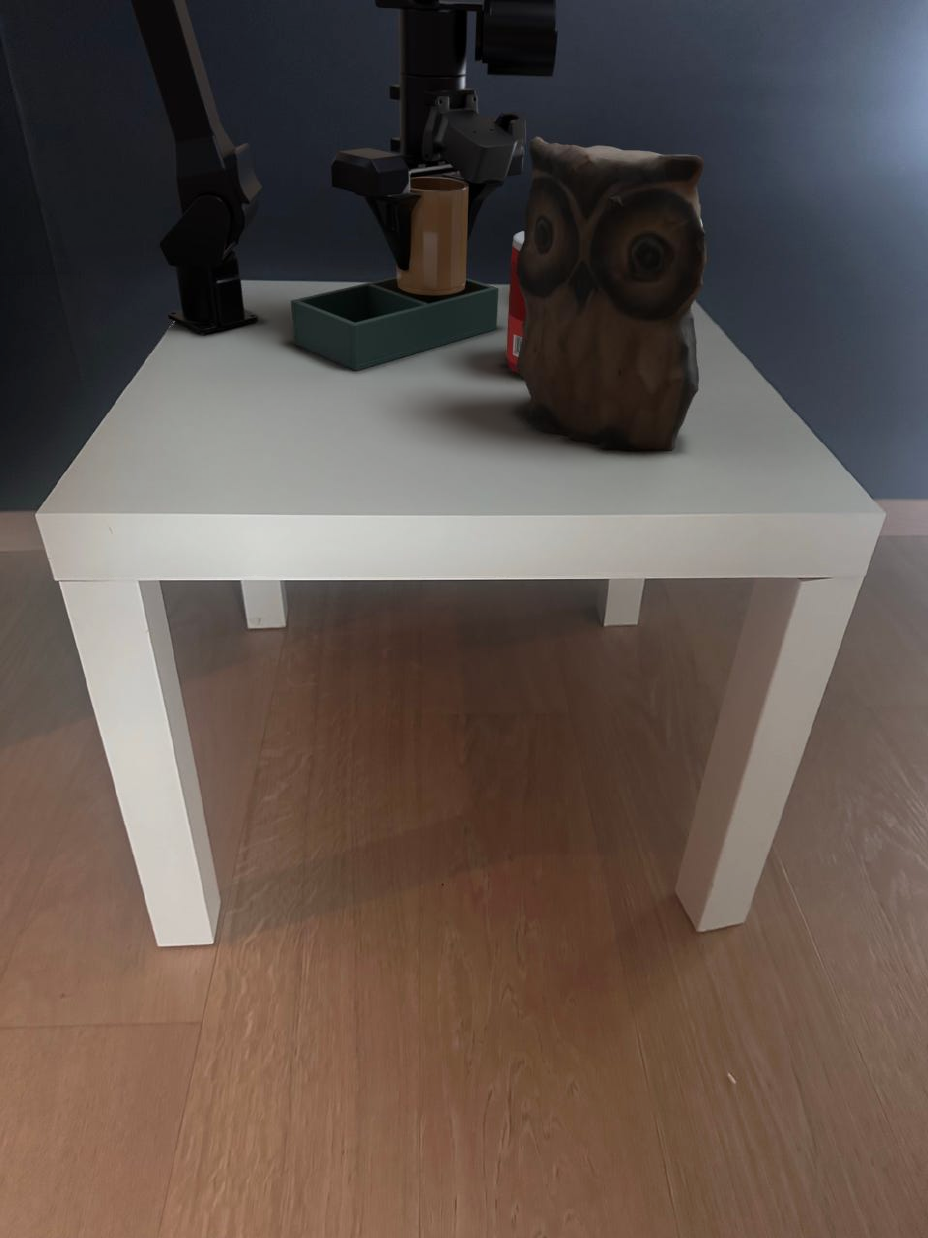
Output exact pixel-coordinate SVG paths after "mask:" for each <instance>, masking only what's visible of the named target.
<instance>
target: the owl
mask: <svg viewBox="0 0 928 1238" xmlns="http://www.w3.org/2000/svg"><path fill="white" fill-rule="evenodd" d="M529 144H530V145H529V147H528V153H529V155H530V161H531V162H530V163H531V182H530V185H531V186H530V188H529V191H528V198H527V201H526V204H525V209H524V222H523V223H524V224H523V231H524V242H523V244H522V247H521V249H520V251H519V254H518V258H517V269H516V274H517V276H518V279H519V282H518V284H519V287H520V290H521V292H522V295H523V297H524V301H525V308H526V317H525V319H524V322H523V324H522V331H523V335H522V341H521V347H520V351H519V355H518V360H517V364H516V368H517V371H518V373H519V374H518V373H517V374H518V375H519V376H520V377H521V378H522V379H523V381H524V383H525V385H526V389H527V391H528V394H529V397H530V399H529V401H528V405H527V406H526V407H525V408H524V409H522V410H521V412H520V413H521V415H522V416H523V417H525V418H526V421H528V422H529V423H530V424H532V425H533V426H534V429H537V430H539V431H540V432H544V433H550V434H559V435H565V436H567V437H568V439H569V440H570V441H576V442H587V443H590V444H594V445H597V446H598V447H599V448H600V449H602V450H619V451H624V452H625V451H627V452H631V451H639V450H656V451H657V450H660V451H668V452H669V451H673V450H674V449H676V440H677V438H678V435H679V432H680V430H681V427H682V426H683V424H684V423H685V421H686V417H687V414H688V412H689V409H690V408H691V404H692V402H693V400H694V398H695V396H696V394H697V393H698V392H699V383H700V373H699V365H698V358H697V357H698V356H697V355H698V353H697V350H698V349H697V343H698V342H697V336H696V329H695V316H694V314H693V312H692V305H693V304H694V303H695V300H696V298H697V296H698V295H699V293H700V291H701V289H702V288H703V285H704V282H703V274H704V271H705V268H706V264H707V245H706V236H707V233H706V231H705V230H704V227H703V223H702V224H701V221H702V219H701V220H700V218H701V212H702V211H701V209H702V208H701V203H700V199H699V190H698V187H697V183H698V182H699V180H700V178H701V176H702V174H703V170H704V160H703V158H702V157H701V156H699V155H694V154H661V153H658V152H653V151H647V150H629V149H628V150H625V149H624V150H623V149H620V148H617V147H614V146H609V145H607V146H606V145H593V146H589V147H583V146H579V145H577V144H571V145H569V144H560V143H557V142H553V143H549V142H547V141H545V140H544V139H543V138H542V137H540V136H535V137H534V138H532V139H530V143H529Z"/></svg>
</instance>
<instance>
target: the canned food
mask: <svg viewBox="0 0 928 1238" xmlns="http://www.w3.org/2000/svg"><path fill="white" fill-rule="evenodd" d="M523 242H524V230H522V231H520V232H517V233H515V234H514V235H513V241H512V243H511V244H512V245H511V259H510V273H509V274H510V276H509V277H510V278H509V297H508V313H507V314H508V315H507V316H508V317H507V334H506V337H507V338H506V352H505V353H506V354H505V356H506V360H507V364H508V367H509V368H510V370H512V371H513V372H514V373H516V374H518V375H520V374H519V373H518V371H517V368H516V364H517V360H518V355H519V351H520V347H521V341H522V335H523V331H522V324H523V322H524V319H525V317H526V308H525V301H524V297H523V295H522V292H521V290H520V287H519V284H518V282H519V279H518V276H517V274H516V269H517V258H518V254H519V251H520V249H521V247H522V244H523Z"/></svg>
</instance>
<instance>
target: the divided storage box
mask: <svg viewBox="0 0 928 1238" xmlns="http://www.w3.org/2000/svg"><path fill="white" fill-rule="evenodd" d="M498 306H499V288H498V287H495V286H494V285H491V284H487V283H484V282H481V281H477V280H474V279H471V278H468V277H466V286H465V289H464V290H462V291H460V292H457V293H454V294H448V295H419V294H413V293H409V292H406V291H403V290H401V289H400V288H399V287H398V286H397V275H396V276H392V277H388V278H384V279H379V280H375V281H371V282H366V283H361V284H357V285H353V286H349V287H344V288H339V289H335V290H331V291H326V292H322V293H316V294H313V295H309V296H305V297H300V298H296V299H292V300H290V307H291V308H290V309H291V310H290V311H291V322H292V335H293V344H294V345H296V346H299V347H301V348H303V349H305V350H307V351H310V352H312V353H314V354H317V355H319V356H321V357H324V358H326V359H328V360H330V361H333V362H335V363H338V364H340V365H342V366H344V367H347V368H348V369H351V370H354V371H360V370H363V369H367V368H371V367H373V366H377V365H380V364H383V363H387V362H391V361H394V360H398V359H400V358H401V359H402V358H404V357H406V356H411V355H413V354H417V353H420V352H421V353H422V352H424V351H428V350H430V349H433V348H434V349H435V348H437V347H441V346H444V345H449V344H450V343H454V342H455V343H456V342H458V341H461V340H464V339H468V338H472V337H474V336H477V335H478V336H479V335H482V334H484V333H488V332H491V331H494V330H497V329H498V328H497V326H498V324H497V323H498Z"/></svg>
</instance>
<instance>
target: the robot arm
mask: <svg viewBox="0 0 928 1238" xmlns="http://www.w3.org/2000/svg"><path fill="white" fill-rule="evenodd" d="M482 1H483V3H482V2H463V1H462V2H461V1H442V0H374V6H376V8H378V9H390V10H391V9H394V10H398V84H390V85H389V99H390V100H395V101H399V102H398V103H399V104H398V107H399V108H398V109H399V111H398V113H399V115H398V116H399V119H398V120H399V137H392V138H390V139H389V143H390V144H389V145H390V146H389V148H390V152H389V151H384V150H379V149H375V148H370V147H365V148H356V149H348V150H340V151H337V153H336V155H335V156H334V158H333V160H332V161H331V165H330V172H331V187H332V188H336V189H340V190H343V191H347V192H351V193H354V194H355V195H356V196H360V197H363V199H364V200H365V202H366V204H367V206H368V207H369V210H370V211H371V213H372V215H373V216H374V219H375V220H376V221H377V224H378V227H379V228H380V230H381V233H382V234H383V237H384V240H385V241H386V244H387V246H388V247H389V250H390V252H391V255H392V257H393V259H394V262H395V265H396V264H397V266H398V268H399V269H401V270H404V271H406V270H408V269H409V263H410V255H411V213H412V210H413V208H414V207H415V205H416V204H417V202H418V201H419V199H420V197H421V195H419V194H415V193H411V192H410V178H416V177H431V176H437V175H441V177H442V178H450V179H456V180H460V181H464V182H466V183H468V184H469V192H468V224H467V244H468V243H469V241H470V237H471V234H472V233H473V232H472V231H473V229H474V226H475V224H476V221H477V217H478V215H479V212H480V210H481V208H482V206H483V204H484V201H485V200H486V199H487V198H488V197H489V196H490V195H491V194H492V193H493V192H495V190H497V189H498V188H502V187H503V186H504V184H505V183H506V181H505V179H506V178H508V177H514V176H521V175H523V170H524V168H523V167H524V156H525V147H526V143H527V120H526V118H525V117H523V116H522V115H521V114H519V113H518V112H516V111H512V112H511V111H510V112H502V113H500V114H499V115H498V116H497V118H496V117H494V116H484V115H482V114H481V113H480V112H479V108H478V103H479V102H478V101H479V100H478V95H477V94H476V93H477V92H476V91H477V90H476V88H469V87H467V83H466V82H467V57H468V55H467V53H468V49H467V48H468V17H469V15H468V14H469V13H468V12H473V13H474V12H475V30H474V31H475V32H474V62H481V64H485V65H486V76H490V77H491V76H493V77H496V76H497V77H520V78H521V77H522V78H523V77H526V78H548V79H549V78H551V79H552V78H553V77H554V73H555V72H554V71H555V65H556V57H557V56H556V55H557V47H558V46H557V45H558V35H559V33H558V32H559V31H558V29H557V28H556V26H557V25H556V22H557V0H482ZM129 4H130V7H131V9H132V12H133V16H134V19H135V22H136V25H137V28H138V31H139V35H140V38H141V42H142V45H143V47H144V50H145V54H146V56H147V60H148V62H149V66H150V69H151V72H152V74H153V78H154V81H155V85H156V87H157V91H158V93H159V97H160V100H161V103H162V106H163V109H164V112H165V116H166V119H167V122H168V124H169V125H168V126H169V128H170V131H171V134H172V139H173V153H174V155H173V156H174V157H173V158H174V180H175V187H176V194H177V199H178V205H179V211H180V215H181V216H180V217H179V219H178V220H177V221H176V222H175V223H174V225H173V226H172V227H171V228H170V229H169V230H168V231H167V233H166V234H165V235H164V236H163V238H161V240H160V241H159V248H160V250H161V251H162V254H163V255H164V257H165V259H166V261H167V263H168V265H169V266H170V267H175V273H176V279H177V287H178V292H179V299H180V306H181V309H179V310H174V311H170V312H168V313H167V316H168V319H170V320H172V322H173V321H174V322H176V323H178V324H179V325H181V326H184V327H187V328H188V329H190V330H193V331H195V332H197V333H198V334H209V333H213V332H217V331H221V330H226V329H229V328H234V327H238V326H242V325H246V324H250V323H251V324H252V323H255V322H258V321H259V315H257V314H256V313H253V312H251V311H248V310H247V309H245V306H244V305H245V303H244V297H243V296H244V295H243V288H242V278H241V276H240V275H241V274H240V266H239V258H238V257H237V253H236V252H235V251H234V250H233V249H234V248H235V247H237V246H238V245H239V243H240V239H241V236H242V235H243V234H244V233H245V231H246V230H247V229H248V228H249V226H250V225H251V224H252V223H253V221H254V220H255V217H256V215H257V213H258V210H259V196H258V195H259V194H260V192H262V190H263V186H262V184H261V183H260V181H259V180H258V178H257V175H256V172H255V171H254V166H253V165H254V164H253V156H252V151H251V147H250V144H249V143H248V142H246V143H242V144H241V145H239V146H236V147H235V145H234V143H233V142H232V140H231V139H230V137H229V135H228V134H227V132H226V131H225V128H224V127H223V125H222V123H221V120H220V116H219V113H218V109H217V106H216V103H215V98H214V95H213V92H212V89H211V84H210V82H209V79H208V75H207V72H206V68H205V65H204V62H203V57H202V54H201V51H200V48H199V44H198V40H197V38H196V34H195V30H194V27H193V24H192V20H191V17H190V13H189V9H188V6H187V3H186V0H129Z"/></svg>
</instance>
